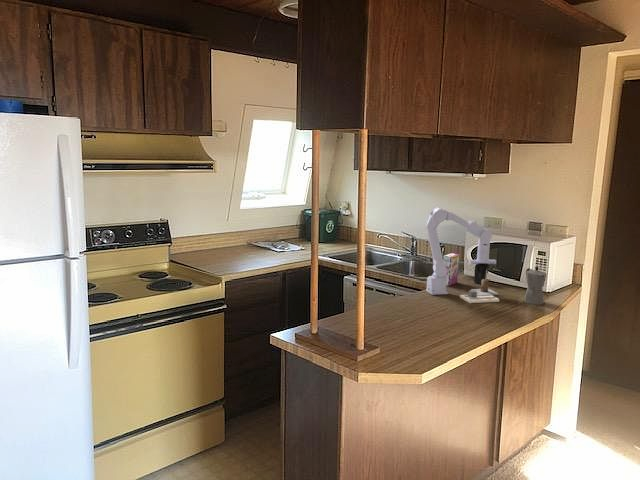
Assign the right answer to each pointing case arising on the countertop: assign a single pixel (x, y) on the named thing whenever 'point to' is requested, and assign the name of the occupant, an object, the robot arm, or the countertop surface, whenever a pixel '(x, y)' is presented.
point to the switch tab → (472, 293)
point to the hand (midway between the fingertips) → (481, 277)
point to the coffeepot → (534, 286)
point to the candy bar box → (451, 268)
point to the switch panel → (480, 298)
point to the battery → (476, 276)
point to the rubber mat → (485, 292)
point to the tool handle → (484, 285)
